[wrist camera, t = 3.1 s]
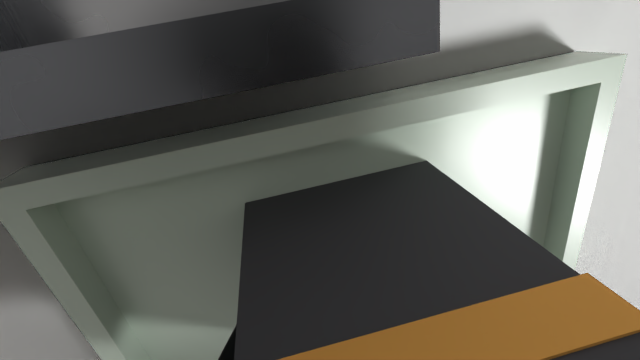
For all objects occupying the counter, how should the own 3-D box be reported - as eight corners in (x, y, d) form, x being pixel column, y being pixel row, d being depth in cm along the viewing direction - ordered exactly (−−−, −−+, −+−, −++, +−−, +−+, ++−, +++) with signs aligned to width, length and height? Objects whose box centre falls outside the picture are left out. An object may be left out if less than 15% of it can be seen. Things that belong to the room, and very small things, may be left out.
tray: (576, 51, 8) (626, 53, 7) (535, 288, 11) (563, 315, 10) (23, 167, 7) (-20, 192, 6) (166, 392, 10) (155, 434, 9)
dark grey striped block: (428, 157, 8) (802, 429, 2) (431, 294, 10) (640, 608, 4) (242, 201, 7) (204, 639, 2) (284, 334, 9) (321, 733, 4)
